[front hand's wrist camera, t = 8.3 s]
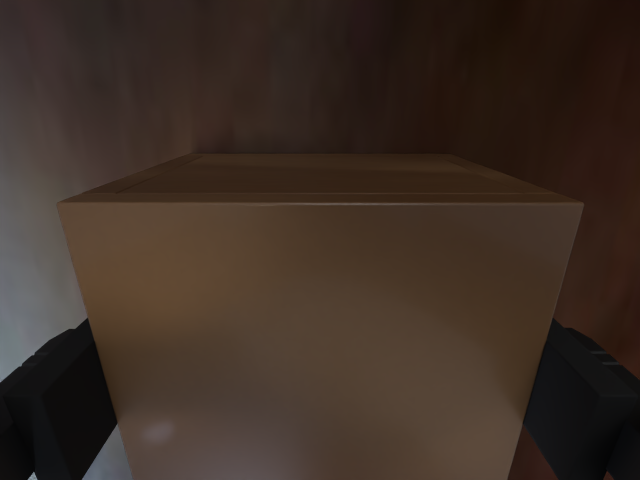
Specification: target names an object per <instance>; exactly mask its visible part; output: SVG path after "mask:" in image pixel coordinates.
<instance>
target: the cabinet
mask: <svg viewBox="0 0 640 480" xmlns="http://www.w3.org/2000/svg"><path fill="white" fill-rule="evenodd" d="M583 208H584V203H583V202H580V201H578V200H575V199H572V198H569V197H567V196H564V195H561V194H557V193H555V192H552V191H550V190H547V189H544V188H541V187H539V186H536V185H533V184H531V183H528V182H525V181H523V180H520V179H517V178H514V177H512V176H509V175H506V174H504V173H501V172H498V171H495V170H493V169H490V168H487V167H485V166H482V165H479V164H476V163H474V162H471V161H468V160H466V159H463V158H460V157H457V156H455V155H453V154H281V153H190V154H188V155H185V156H182V157H179V158H176V159H173V160H171V161H168V162H165V163H163V164H160V165H157V166H154V167H152V168H149V169H146V170H143V171H141V172H138V173H135V174H133V175H130V176H127V177H124V178H122V179H119V180H116V181H113V182H111V183H108V184H105V185H103V186H100V187H97V188H94V189H92V190H89V191H86V192H83V193H82V194H79V195H76V196H73V197H71V198H68V199H65V200H63V201H60V202H58V203H57V209H58V212H59V216H60V220H61V223H62V227H63V230H64V234H65V237H66V241H67V245H68V248H69V252H70V255H71V259H72V262H73V266H74V270H75V273H76V277H77V280H78V284H79V287H80V291H81V295H82V298H83V302H84V305H85V309H86V312H87V316H88V320H89V323H90V327H91V330H92V334H93V337H94V341H95V345H96V348H97V352H98V355H99V359H100V362H101V366H102V370H103V373H104V377H105V380H106V384H107V387H108V391H109V395H110V398H111V402H112V405H113V409H114V412H115V416H116V420H117V423H118V427H119V430H120V434H121V437H122V441H123V445H124V448H125V452H126V455H127V459H128V462H129V466H130V470H131V473H132V477H133V480H507V478H508V474H509V471H510V467H511V464H512V460H513V457H514V453H515V450H516V446H517V442H518V439H519V435H520V432H521V428H522V425H523V421H524V418H525V414H526V411H527V407H528V403H529V400H530V396H531V393H532V389H533V386H534V382H535V379H536V375H537V371H538V368H539V364H540V361H541V357H542V354H543V350H544V347H545V343H546V339H547V336H548V332H549V329H550V325H551V322H552V318H553V315H554V311H555V308H556V304H557V300H558V297H559V293H560V290H561V286H562V283H563V279H564V276H565V272H566V268H567V265H568V261H569V258H570V254H571V251H572V247H573V244H574V240H575V236H576V233H577V229H578V226H579V222H580V219H581V215H582V212H583Z"/></svg>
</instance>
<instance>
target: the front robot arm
mask: <svg viewBox="0 0 640 480" xmlns="http://www.w3.org/2000/svg"><path fill="white" fill-rule="evenodd" d="M523 424H524V426H525V428H526V429H527V431H528V432H529V434H530V435H531V437H532V438H533V440H534V442H535V443H536V445H537V446H538V448H539V449H540V451H541V453H542V454H543V456H544V457H545V459H546V460H547V462H548V464H549V465H550V467H551V468H552V470H553V471H554V473H555V475H556V476H557V478H558V479H559V480H603V478H604V476H605V474H606V471H608V472H609V473H610V475H611V476H612V477H613V478H614V480H640V380H639V379H637V378H636V377H635V376H634V375H633V374H632V373H630V372H629V371H628V370H627V369H626V368H625V367H623V366H622V365H619V362H618V361H616V360H615V359H614V358H613V357H612V356H611V355H609V354H606V351H605V350H604V349H602V348H601V347H600V346H599V345H598V344H597V343H595V342H594V341H593V340H592V339H591V338H589V337H587V336H585V335H583V334H582V333H580V332H578V331H576V330H574V329H573V328H563V327H562V326H561V325H560V324H559V323H558V322H557V321H556V320H555V319H554V318H552V322H551V325H550V329H549V332H548V336H547V339H546V343H545V347H544V350H543V354H542V357H541V361H540V364H539V368H538V371H537V375H536V379H535V382H534V386H533V389H532V393H531V396H530V400H529V403H528V407H527V411H526V414H525V418H524V421H523ZM116 425H117V420H116V416H115V412H114V409H113V405H112V402H111V398H110V395H109V391H108V387H107V384H106V380H105V377H104V373H103V370H102V366H101V362H100V359H99V355H98V352H97V348H96V345H95V341H94V337H93V334H92V330H91V327H90V323H89V320H88V318H87V319H86V320H85V321H84V322H82V323H81V324H80V325H79V326H78V327H77V328H76V329H68V330H67V331H65V332H63V333H61V334H59V335H58V336H56V337H54V338H52V339H51V340H49V341H48V342H47V343H46V344H44V345H43V346H42V347H41V348H40V349H39V350H38V351H36V352H35V355H32V356H31V357H29V358H28V359H27V360H26V361H25V362H24V363H22V366H21V367H18V368H17V369H16V370H14V371H13V372H12V373H11V374H10V375H9V376H7V377H6V378H5V379H4V380H3V381H2V382H1V383H0V480H28V478H29V477H30V476H31V475H32V473H33V472H35V475H36V477H37V480H82V478H83V477H84V475H85V474H86V472H87V470H88V469H89V467H90V466H91V464H92V463H93V461H94V459H95V458H96V456H97V455H98V453H99V452H100V450H101V448H102V447H103V445H104V444H105V442H106V441H107V439H108V437H109V436H110V434H111V433H112V431H113V430H114V428H115V427H116Z"/></svg>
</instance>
